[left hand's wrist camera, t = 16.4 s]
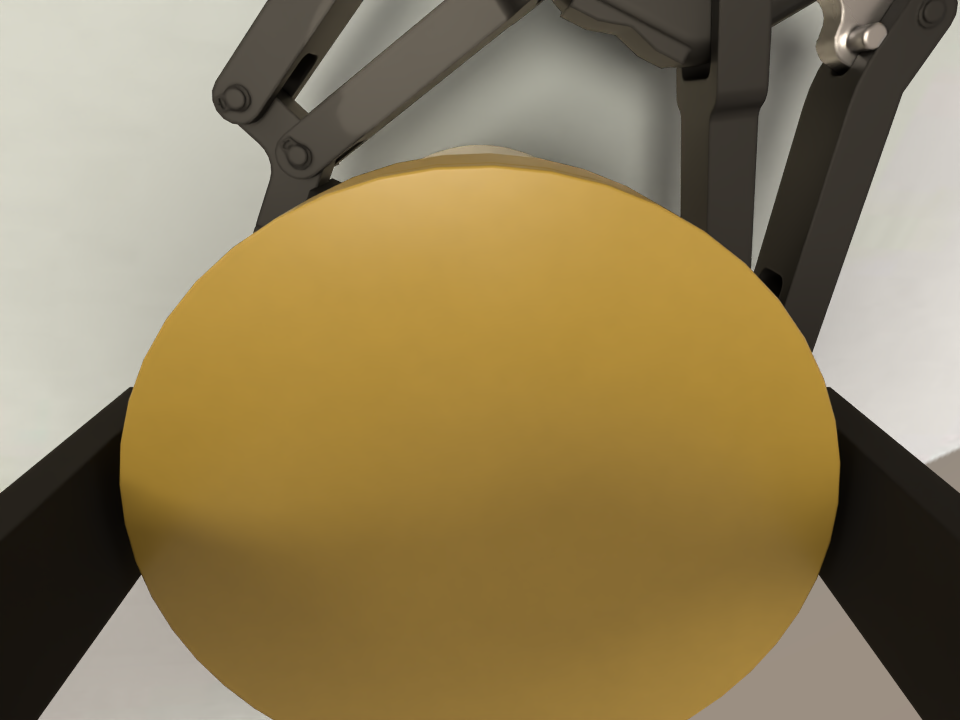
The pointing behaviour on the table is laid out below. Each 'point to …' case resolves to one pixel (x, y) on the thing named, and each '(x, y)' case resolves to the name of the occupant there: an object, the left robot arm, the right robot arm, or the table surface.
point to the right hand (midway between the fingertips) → (426, 448)
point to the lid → (479, 454)
